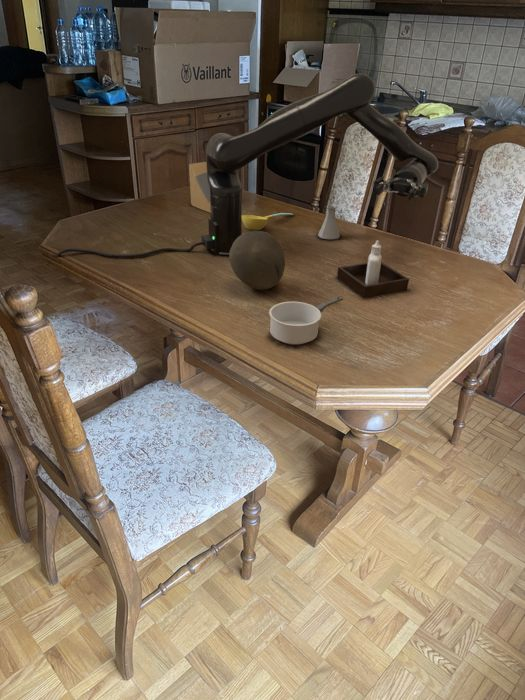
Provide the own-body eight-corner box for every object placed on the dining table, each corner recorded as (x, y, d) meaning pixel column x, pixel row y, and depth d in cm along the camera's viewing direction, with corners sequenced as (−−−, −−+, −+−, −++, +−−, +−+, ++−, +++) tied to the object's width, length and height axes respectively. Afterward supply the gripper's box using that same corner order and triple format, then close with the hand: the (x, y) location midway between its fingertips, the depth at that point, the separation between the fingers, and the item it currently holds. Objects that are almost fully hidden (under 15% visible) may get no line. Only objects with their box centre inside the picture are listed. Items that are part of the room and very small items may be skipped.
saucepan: (356, 327, 125) (359, 306, 122) (290, 353, 115) (291, 330, 112) (322, 308, 133) (324, 288, 130) (258, 331, 122) (258, 309, 119)
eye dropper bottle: (358, 283, 146) (364, 241, 139) (371, 277, 149) (376, 236, 143) (371, 288, 143) (378, 245, 137) (384, 282, 146) (390, 240, 140)
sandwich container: (215, 215, 193) (214, 172, 186) (190, 205, 203) (188, 164, 195) (233, 210, 198) (233, 169, 191) (208, 201, 208) (207, 161, 200)
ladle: (234, 228, 179) (236, 210, 177) (280, 227, 200) (282, 211, 198) (255, 233, 174) (257, 215, 172) (299, 231, 195) (302, 215, 193)
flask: (340, 240, 174) (344, 210, 169) (318, 239, 174) (321, 209, 169) (338, 233, 181) (341, 203, 175) (317, 232, 181) (319, 202, 175)
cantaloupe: (277, 275, 149) (279, 222, 142) (288, 297, 138) (291, 241, 130) (227, 278, 147) (226, 224, 139) (233, 300, 135) (233, 244, 127)
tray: (363, 298, 138) (365, 286, 137) (336, 278, 149) (338, 267, 147) (407, 290, 143) (409, 279, 142) (378, 271, 154) (379, 260, 152)
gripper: (386, 163, 156) (370, 175, 144) (435, 169, 151) (423, 182, 139) (382, 189, 160) (366, 203, 148) (430, 196, 155) (418, 211, 143)
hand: (394, 193), depth 143 cm, fingers open, 8 cm apart
